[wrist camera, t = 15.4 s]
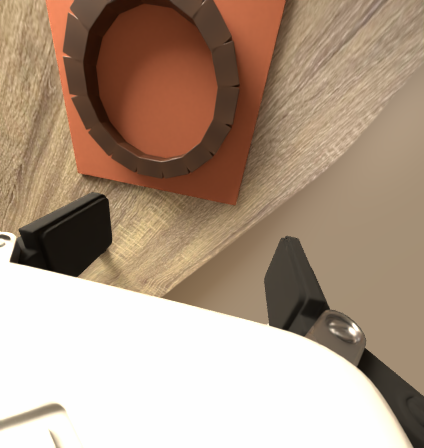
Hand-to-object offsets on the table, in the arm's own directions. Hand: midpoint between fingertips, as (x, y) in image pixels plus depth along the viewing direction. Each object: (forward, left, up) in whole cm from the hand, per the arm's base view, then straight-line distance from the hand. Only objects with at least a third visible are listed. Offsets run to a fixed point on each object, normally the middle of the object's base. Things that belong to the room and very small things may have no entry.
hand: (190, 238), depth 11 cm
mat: (+10, -6, -21) cm, 24 cm away
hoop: (+10, -6, -20) cm, 23 cm away
